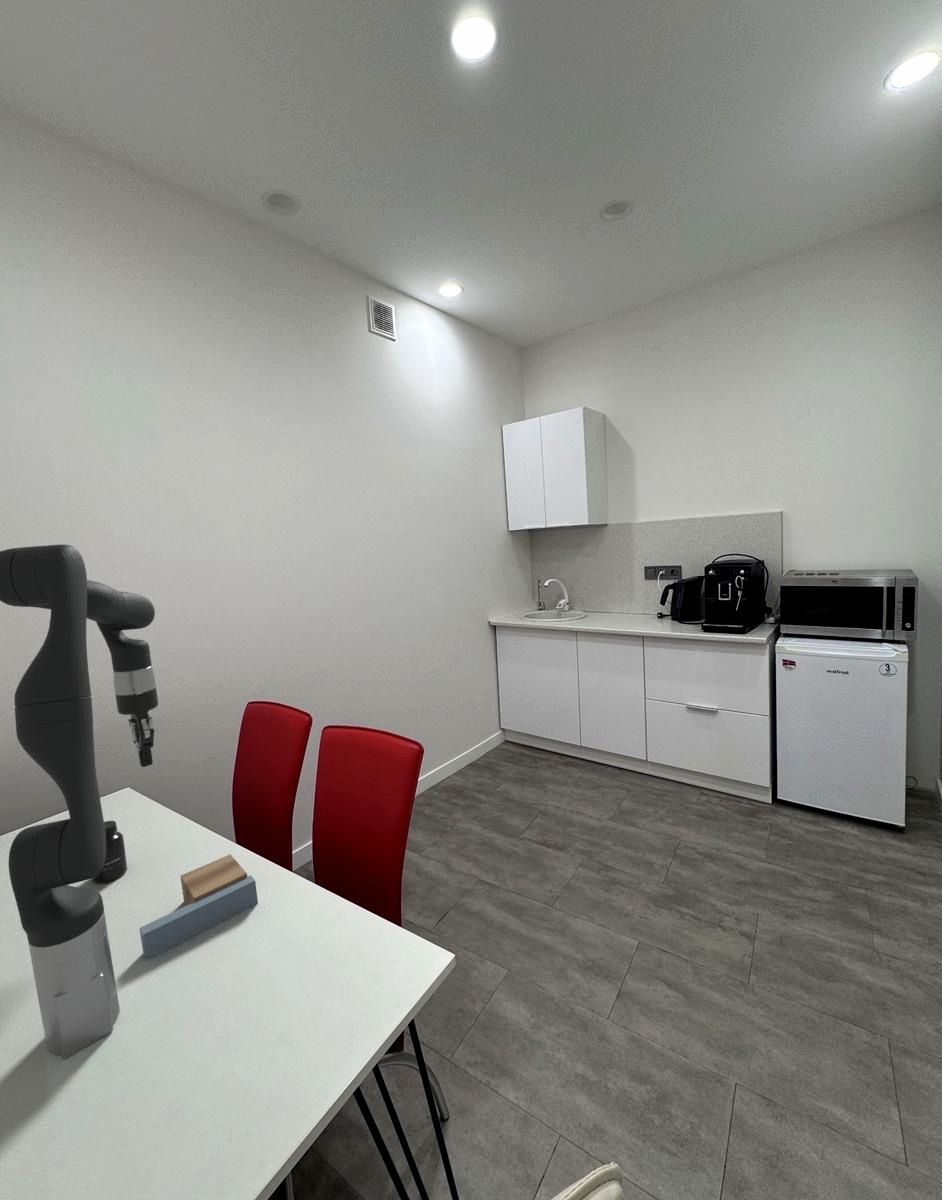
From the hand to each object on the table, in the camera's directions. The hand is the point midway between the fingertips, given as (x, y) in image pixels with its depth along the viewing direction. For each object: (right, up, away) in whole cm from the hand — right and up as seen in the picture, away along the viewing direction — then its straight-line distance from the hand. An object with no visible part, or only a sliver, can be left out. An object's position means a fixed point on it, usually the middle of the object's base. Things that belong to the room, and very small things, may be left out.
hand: (146, 765), depth 116 cm
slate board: (+20, -27, -14) cm, 36 cm away
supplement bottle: (-11, -27, +5) cm, 30 cm away
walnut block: (+19, -27, -6) cm, 33 cm away
